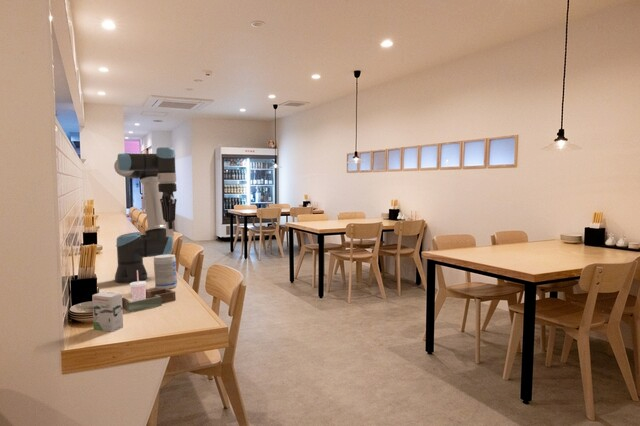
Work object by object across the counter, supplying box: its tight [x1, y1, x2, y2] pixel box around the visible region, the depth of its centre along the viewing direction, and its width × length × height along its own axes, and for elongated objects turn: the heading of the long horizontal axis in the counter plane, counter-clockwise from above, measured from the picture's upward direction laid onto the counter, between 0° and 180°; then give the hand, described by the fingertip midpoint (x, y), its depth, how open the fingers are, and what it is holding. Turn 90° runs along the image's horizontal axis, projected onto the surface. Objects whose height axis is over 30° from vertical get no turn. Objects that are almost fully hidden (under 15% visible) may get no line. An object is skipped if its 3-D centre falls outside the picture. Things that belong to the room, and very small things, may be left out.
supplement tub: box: [153, 253, 178, 290], centre depth 198 cm, size 10×10×15 cm
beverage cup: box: [129, 270, 147, 302], centre depth 169 cm, size 6×6×14 cm
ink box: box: [92, 290, 124, 333], centre depth 143 cm, size 9×5×12 cm, turn 69°
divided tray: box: [122, 288, 177, 313], centre depth 172 cm, size 19×26×4 cm
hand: (170, 236), depth 190 cm, fingers closed
